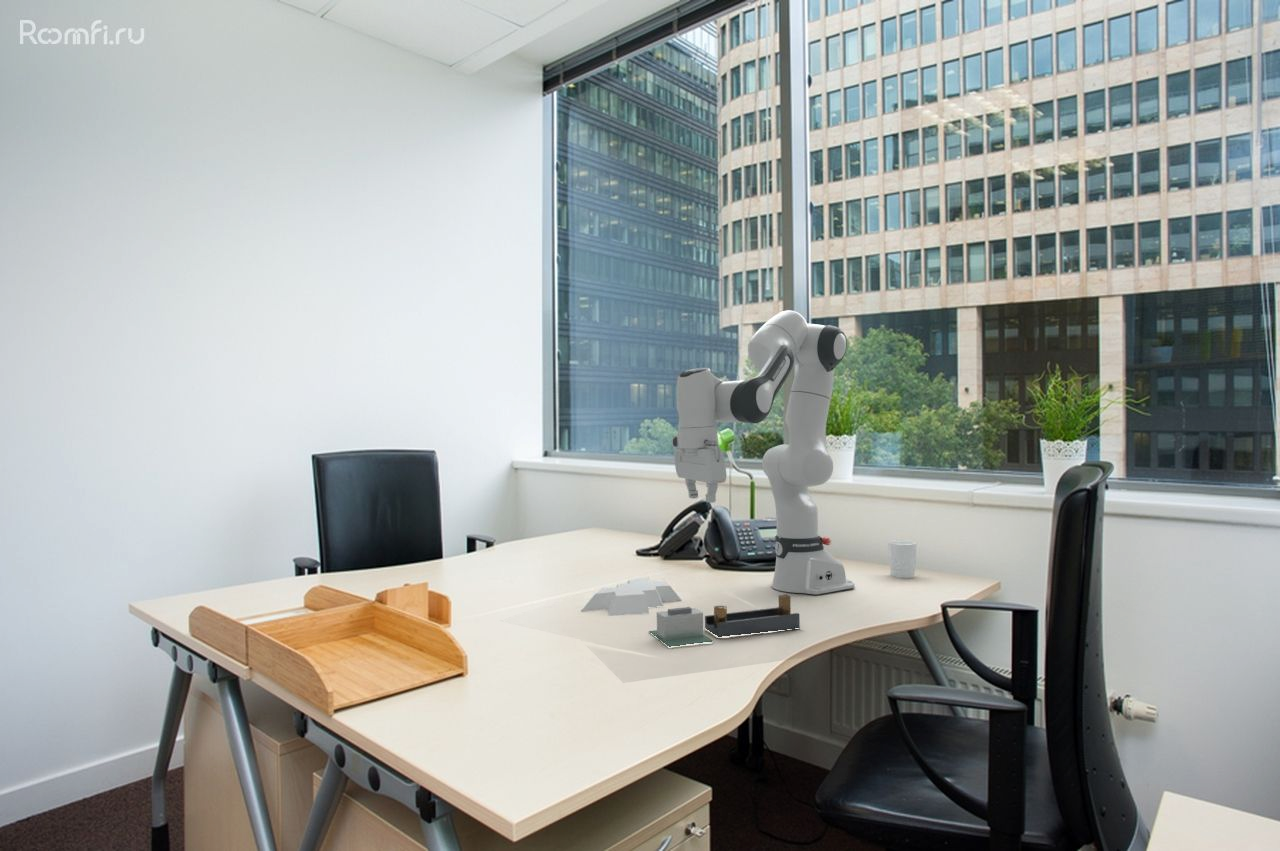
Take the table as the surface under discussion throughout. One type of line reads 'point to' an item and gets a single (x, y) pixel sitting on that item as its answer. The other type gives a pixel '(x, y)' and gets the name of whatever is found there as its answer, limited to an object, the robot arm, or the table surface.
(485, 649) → the table surface
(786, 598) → the dark grey channel holder
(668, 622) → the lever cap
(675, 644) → the rubber mat
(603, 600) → the white jagged cross block
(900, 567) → the white cup
